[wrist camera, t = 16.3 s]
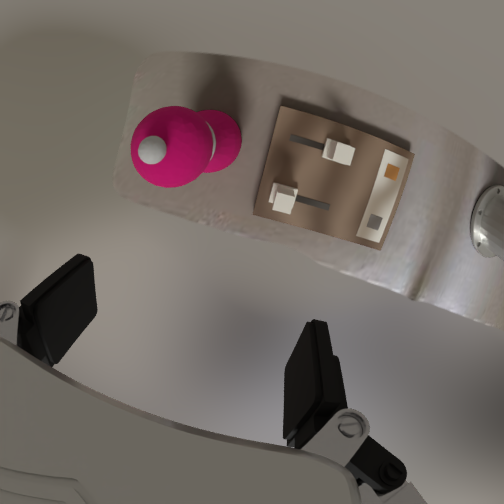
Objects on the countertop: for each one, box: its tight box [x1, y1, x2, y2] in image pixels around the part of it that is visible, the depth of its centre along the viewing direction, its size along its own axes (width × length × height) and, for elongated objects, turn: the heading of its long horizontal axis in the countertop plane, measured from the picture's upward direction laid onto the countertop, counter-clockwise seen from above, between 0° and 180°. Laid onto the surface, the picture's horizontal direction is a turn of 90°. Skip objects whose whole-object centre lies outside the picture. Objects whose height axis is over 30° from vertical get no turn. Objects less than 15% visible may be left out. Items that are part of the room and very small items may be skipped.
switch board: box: [253, 106, 415, 250], centre depth 32 cm, size 18×14×2 cm
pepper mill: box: [131, 106, 242, 188], centre depth 23 cm, size 7×7×20 cm
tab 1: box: [269, 182, 298, 214], centre depth 31 cm, size 3×2×4 cm
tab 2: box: [321, 138, 355, 166], centre depth 28 cm, size 3×2×4 cm
